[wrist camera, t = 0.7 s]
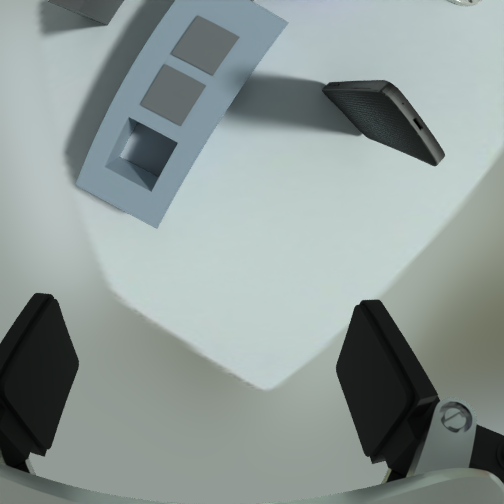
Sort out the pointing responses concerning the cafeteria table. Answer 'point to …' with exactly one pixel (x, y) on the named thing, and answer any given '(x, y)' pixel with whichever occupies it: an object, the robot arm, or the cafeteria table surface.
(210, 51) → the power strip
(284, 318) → the cafeteria table surface
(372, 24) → the cafeteria table surface
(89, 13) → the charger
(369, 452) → the robot arm
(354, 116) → the phone
